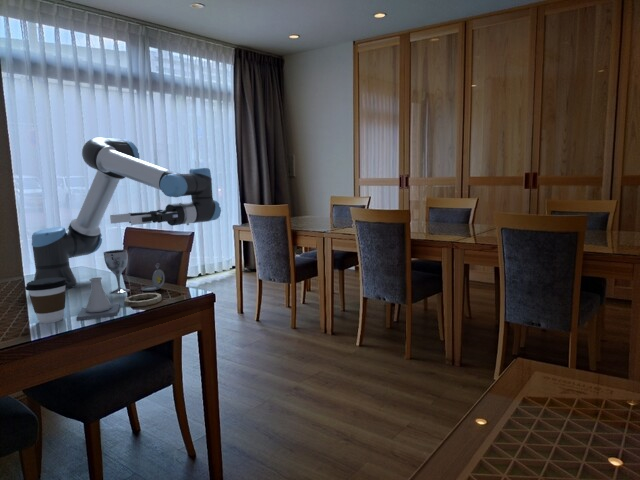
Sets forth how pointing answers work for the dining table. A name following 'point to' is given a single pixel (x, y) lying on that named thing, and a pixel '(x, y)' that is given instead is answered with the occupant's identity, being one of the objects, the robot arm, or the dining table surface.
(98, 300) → the flask
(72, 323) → the dining table surface
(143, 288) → the pocket watch
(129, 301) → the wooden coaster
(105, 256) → the wine glass
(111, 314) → the rubber mat
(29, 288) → the coffee cup
